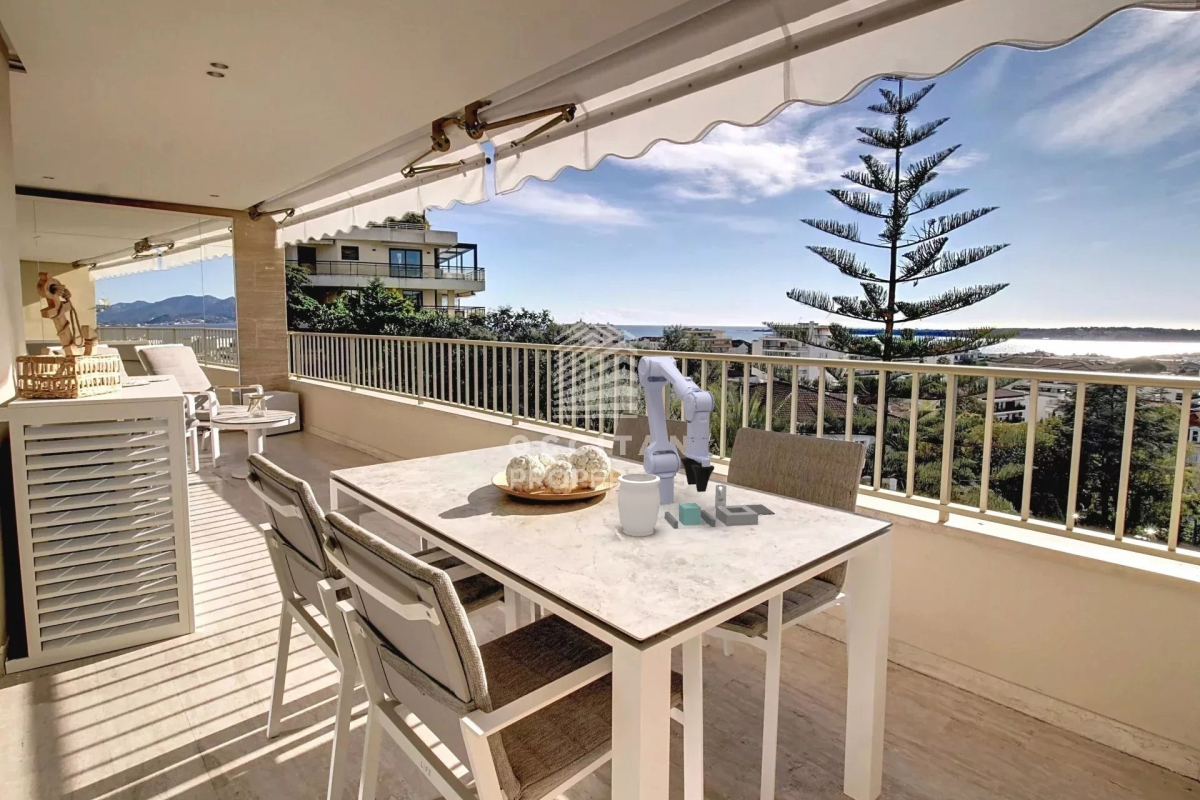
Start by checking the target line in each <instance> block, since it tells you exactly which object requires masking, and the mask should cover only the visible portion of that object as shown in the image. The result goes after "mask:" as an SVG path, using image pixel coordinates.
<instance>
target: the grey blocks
mask: <svg viewBox="0 0 1200 800" xmlns="http://www.w3.org/2000/svg"><path fill="white" fill-rule="evenodd" d="M746 505H747V504H737V505H735V504H734V505H726V506H716V508H715V517H713V516H711V514H709V513H708V512H707V511H706V510H705V509H701V523H700V525H683V524H682V523H681V522H680V521H679V517H674V516H673V514H672V513H671V512H669V511H664V519H665V520H666V521H667V523H668V524H669V525H670V526H671V527H672V528H673V529H674V530H677V529H681V530H682V529H696V528H697V529H698V528H715V527H716V519H718V521H720V522H722V524H724V525H725V526H726V527H733V526H734V527H738V526H754V525H757V526H758V525H759V515H758V513H756V512H755V511H753V510H752V509H750V508H749V507H748V506H746ZM715 518H716V519H715Z"/></svg>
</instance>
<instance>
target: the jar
mask: <svg viewBox="0 0 1200 800" xmlns="http://www.w3.org/2000/svg"><path fill="white" fill-rule="evenodd" d="M617 477H618V479H617V481H618V483H619V484H620V485H619V487H618V488H619V489H618V493H617V509H618V515H619V522H620V525H621V527H622V528H623V530H622V533H623V534H626V535H628V536H634V537H643V536H644V537H645V536H651V535H653V534H654V533H655V531H654V529H655V527H656V525H657V524H658V523H657V522H658V518H659V511H660V492H659V487H658V484H659V483H660V478H659V477H658V476H655V475H651V474H647V473H643V472H642V473H641V472H640V473H638V472H636V473H624V474H622V475H619V476H617Z"/></svg>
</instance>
